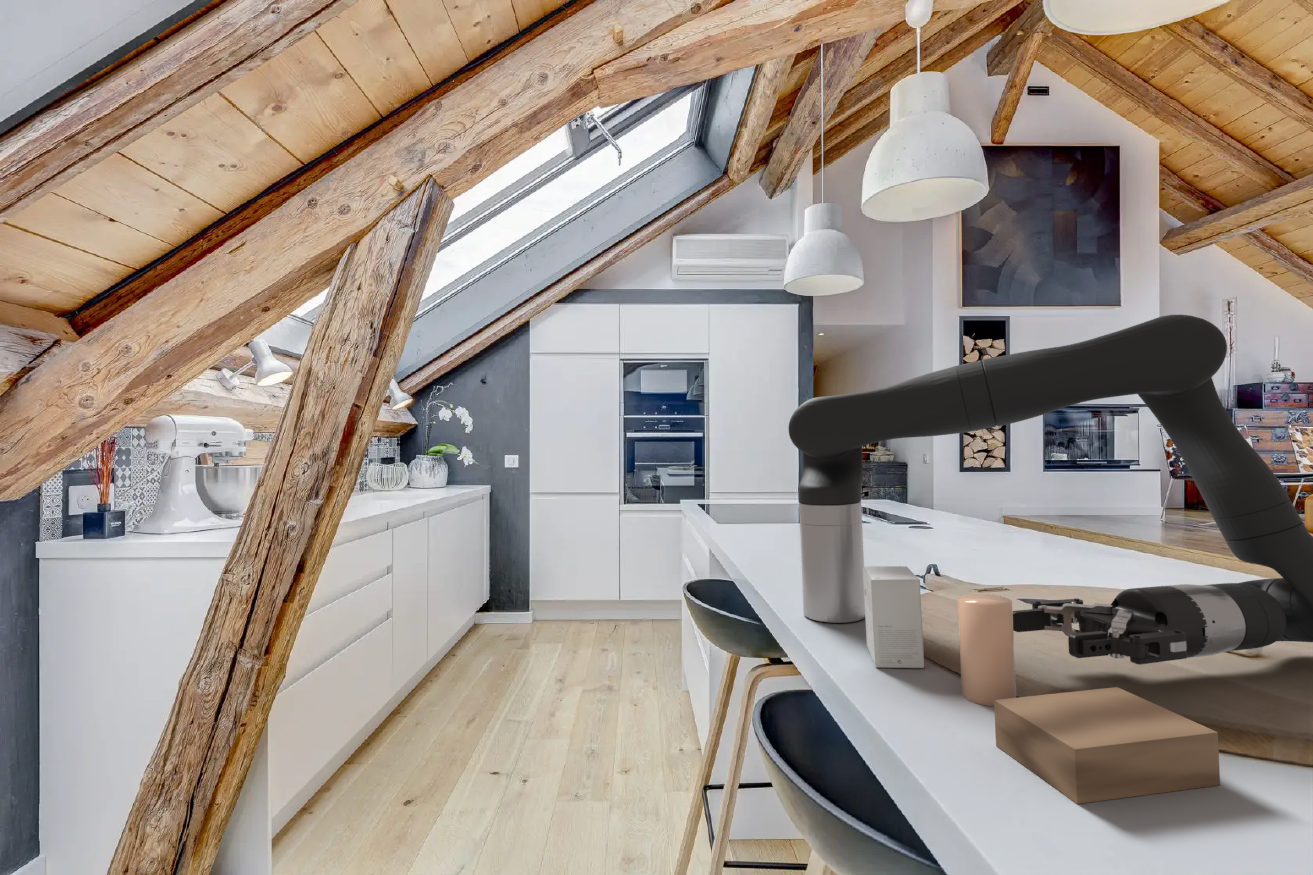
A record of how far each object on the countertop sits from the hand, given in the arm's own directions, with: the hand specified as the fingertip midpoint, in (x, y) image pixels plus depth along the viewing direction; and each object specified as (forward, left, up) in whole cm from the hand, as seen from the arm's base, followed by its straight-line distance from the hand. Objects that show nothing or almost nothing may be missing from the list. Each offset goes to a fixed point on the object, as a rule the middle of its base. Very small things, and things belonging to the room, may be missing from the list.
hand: (1039, 633), depth 67 cm
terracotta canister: (0, -6, -6) cm, 9 cm away
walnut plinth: (+14, -6, -6) cm, 17 cm away
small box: (-13, -10, -6) cm, 17 cm away
